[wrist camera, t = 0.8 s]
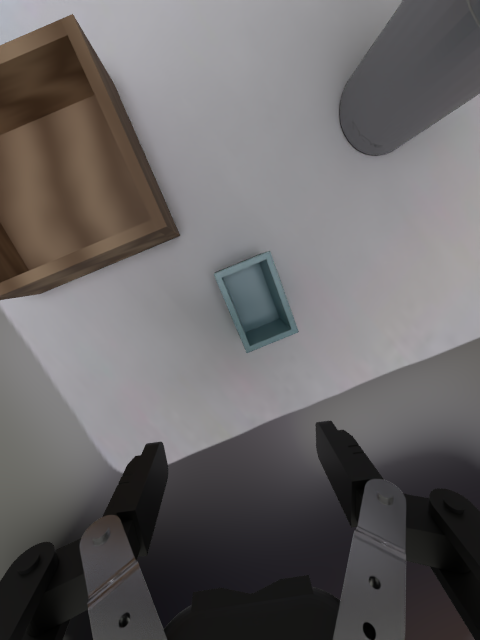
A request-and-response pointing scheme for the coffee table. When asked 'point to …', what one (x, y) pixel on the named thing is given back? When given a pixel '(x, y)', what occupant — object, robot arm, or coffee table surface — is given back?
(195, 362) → the coffee table surface
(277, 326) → the teal crate
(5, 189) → the walnut crate
